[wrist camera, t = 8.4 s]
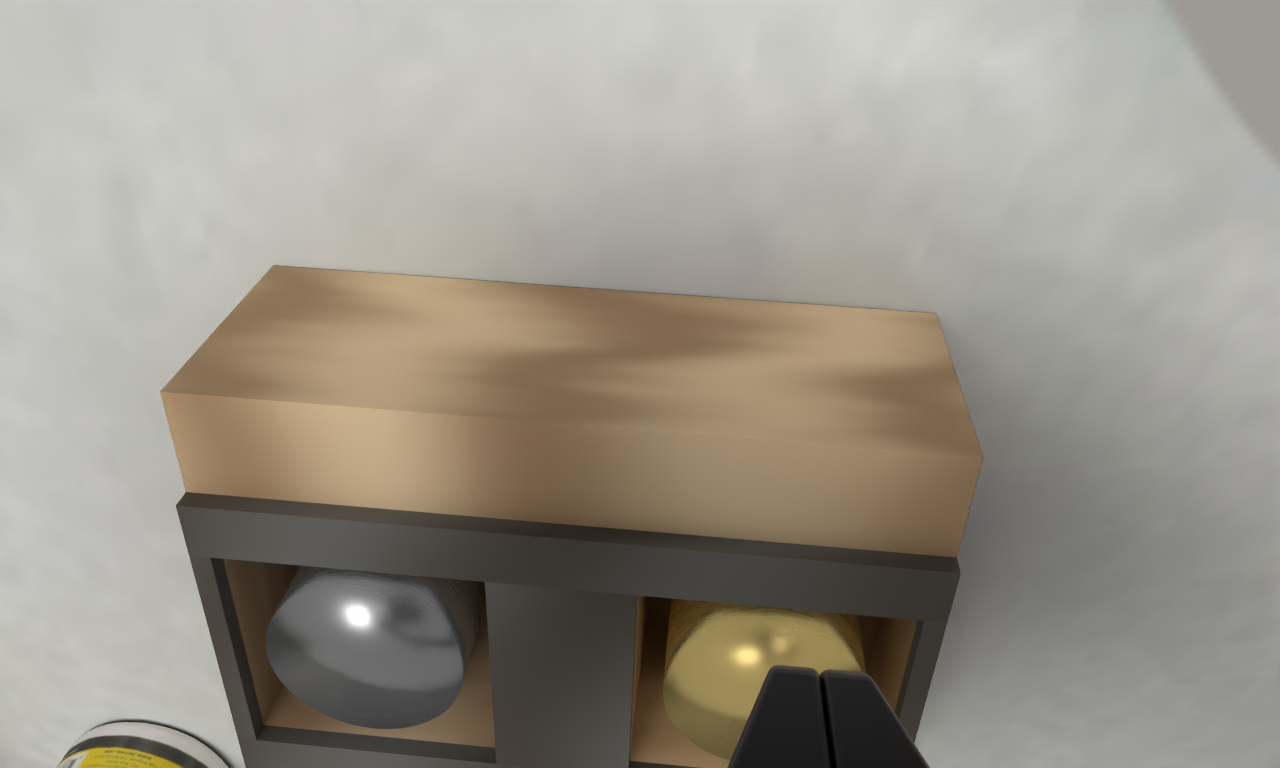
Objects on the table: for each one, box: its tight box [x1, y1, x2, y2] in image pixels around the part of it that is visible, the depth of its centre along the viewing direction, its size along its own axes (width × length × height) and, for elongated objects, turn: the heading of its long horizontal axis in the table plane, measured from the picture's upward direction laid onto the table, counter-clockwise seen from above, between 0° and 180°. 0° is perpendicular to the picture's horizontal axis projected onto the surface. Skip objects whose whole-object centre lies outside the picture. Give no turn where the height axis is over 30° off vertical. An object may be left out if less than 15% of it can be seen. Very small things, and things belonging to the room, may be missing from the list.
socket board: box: [160, 266, 983, 768], centre depth 22 cm, size 14×12×5 cm
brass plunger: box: [663, 598, 866, 760], centre depth 22 cm, size 4×4×5 cm
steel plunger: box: [265, 566, 486, 729], centre depth 23 cm, size 4×4×5 cm
